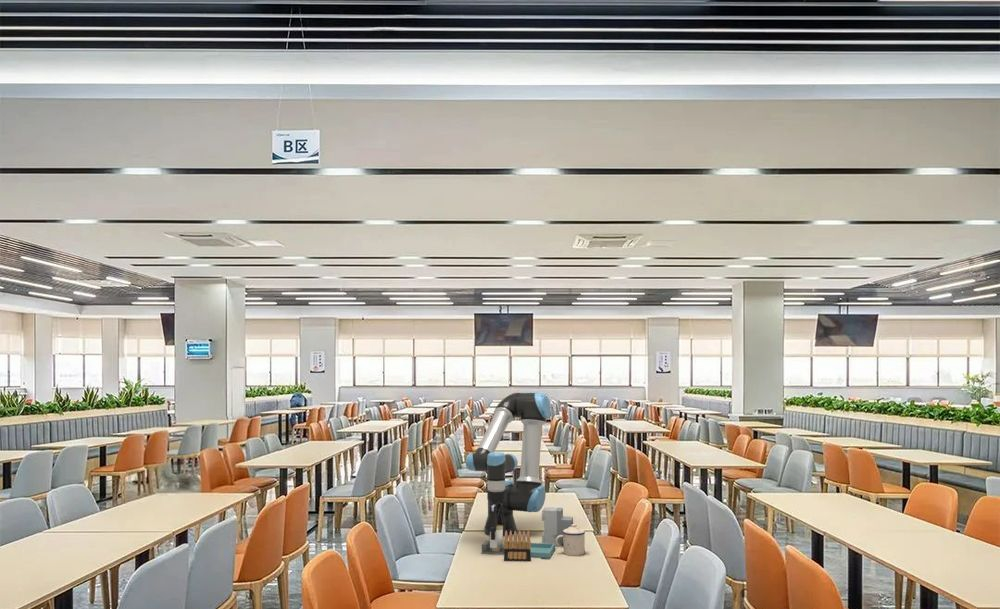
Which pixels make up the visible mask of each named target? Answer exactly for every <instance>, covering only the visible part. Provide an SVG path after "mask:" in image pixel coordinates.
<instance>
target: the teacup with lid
mask: <svg viewBox="0 0 1000 609" xmlns="http://www.w3.org/2000/svg"><path fill="white" fill-rule="evenodd" d="M585 533H586V531H585V530H584V529H582V528H580V527H579V526H577V524H576V523H573V524H572V525H571V527H569V528H567V529H564V530H563V535H559V536H557V538H556V543H557V545H558V546H559V547H558V548H561V549H563V554H565V555H567V556H571V557H572V556H574V557H575V556H577V557H578V556H584V554H585V553H586V551H585V550H586V549H585V544H586V543H585V542H586V538H585ZM560 537H563V545H562V546H561V545H559V544H558V538H560Z"/></svg>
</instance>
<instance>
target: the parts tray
mask: <svg viewBox="0 0 1000 609" xmlns="http://www.w3.org/2000/svg"><path fill="white" fill-rule="evenodd" d="M517 548H518V542H517ZM555 551H556V547H555V544H545V543H542V542H540V543H539V542H531V559H532V558H533V559H536V558H537V559H541V560H550V559H552V556H553V554H554V552H555ZM517 556H518V552H517Z"/></svg>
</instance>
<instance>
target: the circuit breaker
mask: <svg viewBox="0 0 1000 609" xmlns="http://www.w3.org/2000/svg"><path fill="white" fill-rule="evenodd" d="M541 512H542V513H541V521H542V522H543V533H542V534H541V543H545V544H555V548H560V547H559V546H558V545H557V543H556V538H557V536H559V535H563V530H564V529H567V528H569V527H571V525H572V524H574V517H573V516H564V507H555V506H554V507H550V506H544V508H543V509H541ZM558 544H559V545H561V546H563V545H564V541H563V537H560V538H558Z"/></svg>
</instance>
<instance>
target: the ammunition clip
mask: <svg viewBox="0 0 1000 609" xmlns="http://www.w3.org/2000/svg"><path fill="white" fill-rule="evenodd" d="M530 534H531V533H530V531H529V530H527V533H526V532H525V530H523V532H521V531H520V530H519V531H518V533H516V531H515V532H514V534H513V535H512V532H511V530H510V533H509V535H508V534H507V531H505V536H504V539H503V543H504V544H503V545H504V555H503V562H532V558H531V543H532V541H531V535H530ZM508 536H509V537H508ZM508 542H509V548H508ZM517 543H518V548H517ZM508 552H509V553H508ZM517 552H518V556H517Z"/></svg>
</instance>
